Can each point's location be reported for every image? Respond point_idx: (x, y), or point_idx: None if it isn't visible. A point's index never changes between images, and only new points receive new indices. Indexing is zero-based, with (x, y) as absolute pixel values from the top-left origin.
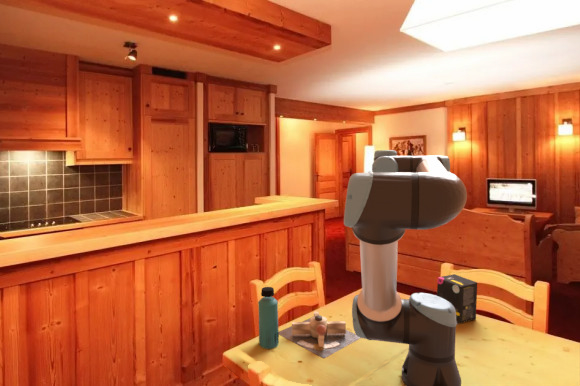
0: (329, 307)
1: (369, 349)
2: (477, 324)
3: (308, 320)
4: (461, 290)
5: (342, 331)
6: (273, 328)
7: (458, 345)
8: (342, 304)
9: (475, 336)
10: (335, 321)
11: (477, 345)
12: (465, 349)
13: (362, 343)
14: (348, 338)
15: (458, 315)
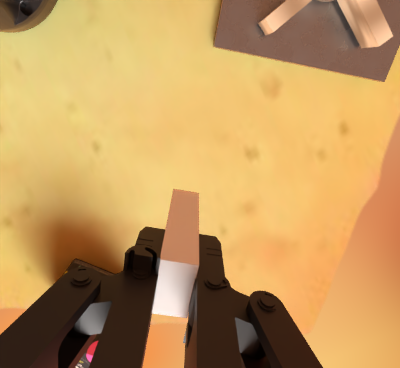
0: (365, 176)
1: (179, 16)
2: (46, 276)
3: (392, 44)
4: None
5: (267, 15)
6: None
7: (31, 167)
8: (339, 211)
9: (25, 225)
10: (298, 8)
11: (4, 190)
12: (13, 158)
13: (208, 36)
14: (242, 12)
15: (67, 271)
